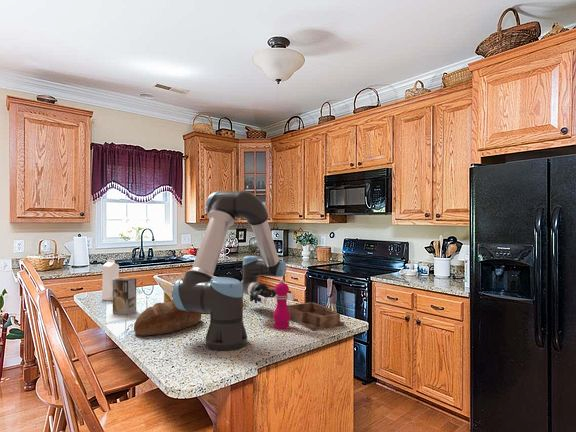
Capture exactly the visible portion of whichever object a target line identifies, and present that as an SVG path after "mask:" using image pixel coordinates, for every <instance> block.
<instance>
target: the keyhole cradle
mask: <svg viewBox="0 0 576 432" xmlns="http://www.w3.org/2000/svg"><path fill="white" fill-rule="evenodd" d="M287 308H288V310H289V312H290V320H291V321H292V322H295V323H296V324H299V325H301V326H303V327H305V328H306V329H308V330H311V331H318V330H325V329H328V328H329V329H330V327H331V328H335V326H336V327H341V326H345V322H344V321H341V314H340V313H338V312H335V311H333V310H332V308H330V307H327V306H324V305H322V304H319V303H316V302H314V301H313V302H303V303H295V304H287ZM290 320H289V321H290ZM324 328H325V329H324Z"/></svg>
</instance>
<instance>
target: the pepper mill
mask: <svg viewBox="0 0 576 432" xmlns="http://www.w3.org/2000/svg"><path fill="white" fill-rule="evenodd" d="M284 282H285V280H284V279H282V278H281V279H280V280H279V283H277V284H276V285H275V286H274V289H275V293H276V294H277V295H276V297H275V299H276V307H275V308H274V311H273V313H272V314H273V315H272V318H273V321H274V322H273V323H274V324H273V329H275V330H286V329H289V328H290V323H289V321H290V312H289V310H288V308H287V305H288V304H287V303H288V302H287V300H288V299H287V298H288V297H287V296H288V295H287V293H288V292H289V291H290V287H289V285H288V284H287V283H284Z"/></svg>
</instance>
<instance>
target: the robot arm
mask: <svg viewBox="0 0 576 432" xmlns="http://www.w3.org/2000/svg"><path fill="white" fill-rule="evenodd" d="M205 206H206V207H205V212H206V214H207V218H208V219H209V221H208V224H207V226H206V228H205V232H204V234H203V237H202V239H201V242H200V245H199V248H198V251H197V253H196V256H195V258H194V261H193V264H192V265H191V266H192V267H191V269H188V270H187V271H186V272H185V274H184V277H182V278H178V279H177V280H175V281H176V282H175V284H174V286H173V291H172V297H173V302H174V304H175V306H176V307H177V308H178V309H180V310H185V311H188V312H190V311H193V312H201V313H202V314H203V313H205V314H209V316H210V317H209V318H210V319H209V322H210V323H209V326H208V329H207V332H206V334H205V339H204V341H205V342H204V344H205V347H206V348H207V349H210V350H214V351H232V350H238V349H241V348H244V347H245V346H247V344H248V334H247V330H246V327H245V324H244V321H243V320H244V319H243V318H244V317H243V316H244V311H243V310H244V295H247V296H249V299H250V301H249V302H253V301H254V304H258V303H260V304H262V305H267V298H276V295H277V294H276V293H275V288H273V289H270V288H268V286H267V285H266V284H264V283H262V282H259V281H258V279H259V277H274V278H279V277H280V278H283V277H285V275H286V274H287V264H286V262H285V261H281V260H280V258H279V255H278V252H277V249H276V244H275V241H274V239H273V235H272V231H271V228H270V225H269V221H268V219H269V214H268V213H269V212H268V210H267V208H266V206H265V205H264V203H263V202H262V201H261V199H260V198H259V197H258V196H256V195H255V194H254V193H252V192H250V191H248V190H247V191H246V190H235V191H232V190H230V191H229V190H228V191H227V190H219V191H214V192H212V193H211V194H210V195H209V196H208V197H207V199H206V202H205ZM243 218H244V219H245V220H246V222H247V224H248V225H249V226H251V229H252V231H253V235H254V237H255V241H256V244H257V247H258V250H259V252H260V256H261V258H262V260H261V259H259V257H258V256H256V255H246V256H244V257H243V258H242V280H241V281H240V280H239V279H236V278H233V277H227V276H216V277H214V273H215V271H216V267H217V264H218V261H219V258H220V256H221V252H222V249H223V245H224V243H225V239H226V237H227V233H228V231H229V227H232V226H233V225H234V224H235V221H236V219H243ZM287 295H288V296H287V297H288V298H287V300H288V301H291V302H295V294H292V291H291V290H289V292H288V293H287Z"/></svg>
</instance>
